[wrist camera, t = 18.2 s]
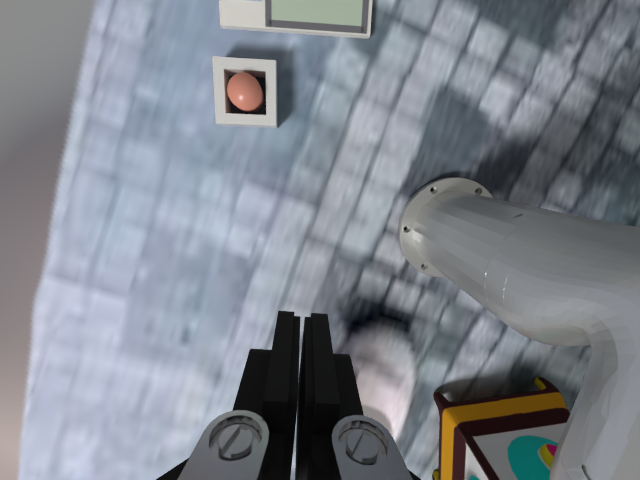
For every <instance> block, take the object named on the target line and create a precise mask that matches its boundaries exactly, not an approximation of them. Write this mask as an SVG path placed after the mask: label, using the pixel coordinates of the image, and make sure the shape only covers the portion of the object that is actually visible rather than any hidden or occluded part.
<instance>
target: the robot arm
mask: <svg viewBox="0 0 640 480" xmlns="http://www.w3.org/2000/svg"><path fill="white" fill-rule="evenodd" d="M431 188H432V189H433V190H432V191H430V190H431ZM475 190H476V192H475ZM405 226H406V229H405V230H403V229H404V227H405ZM398 240H399V245H400V248H401V250H402V253H403V255H404V256H405V258H406V259H407V260H408V262H409V263H410V264H411V265H412V266H413V267H415V268H416V269H417V270H419V271H420V272H422V273H424V274H427V275H429V276H433V277H439V278H443V277H447V278H448V279H450V280H451V281H452V282H453V283H455V284H456V285H457V286H458V287H460V288H461V289H462V290H463V291H465V292H466V293H467V294H469V295H470V296H471V297H472V298H474V299H475V300H476V301H477V302H479V303H480V304H481V305H482V306H484V307H485V308H486V309H487V310H489V311H490V312H491V313H492V314H494V315H495V316H496V317H498V318H499V319H500V320H502V321H503V322H504V323H506V324H507V325H508V326H509V327H511V328H512V329H513V330H515V331H516V332H518V333H520V334H521V335H523V336H525V337H527V338H529V339H532V340H534V341H538V342H541V343H544V344H549V345H557V346H591V357H590V360H589V363H588V366H587V369H586V372H585V375H584V377H583V384H582V386H581V389H580V391H579V394H578V396H577V399H576V401H575V404H574V406H573V409H572V411H571V413H570V416H569V418H568V421H567V423H566V426H565V428H564V431H563V433H562V435H561V438H560V440H559V444H558V446H557V449H556V452H555V455H554V458H553V461H552V465H551V471H550V480H640V227H635V226H629V225H622V224H617V223H611V222H605V221H600V220H595V219H590V218H585V217H580V216H575V215H571V214H565V213H561V212H556V211H551V210H547V209H542V208H537V207H532V206H528V205H523V204H518V203H514V202H509V201H504V200H499V199H495V198H493V196H492V195H491V193H490V192H489V191H488V190H487V189H486V188H485V187H484V186H482V185H480V184H479V183H477V182H475V181H472V180H470V179H466V178H460V177H448V178H442V179H438V180H435V181H433V182H430V183H429V184H427V185H425V186H424V187H422V188H421V189H420V190H418V191H417V192H416V193H415V194H414V195H413V196H412V197H411V199H410V200H409V201H408V202H407V204H406V206H405V208H404V209H403V211H402V214H401V217H400V220H399V226H398ZM422 264H423V265H422ZM421 265H422V266H421ZM299 340H300V317H299V316H294V312H288V311H278V317H277V323H276V328H275V334H274V340H273V346H272V350H262V349H250V352H249V355H248V358H247V362H246V365H245V369H244V372H243V376H242V379H241V383H240V386H239V390H238V393H237V397H236V400H235V404H234V407H233V411H230V412H227V413H225V414H222V415H220V416H218V417H217V418H216V419H214V420H213V421H212V422H211V423H210V424H209V425H208V426H207V428H206V429H205V430H204V432H203V434H202V436H201V438H200V439H199V441H198V443H197V445H196V447H195V448H194V450H193V452H192V454H191V456H190V458H188V459H187V460H185V461H184V462H182V463H180V464H179V465H177V466H176V467H174V468H173V469H171V470H170V471H168V472H167V473H165V474H164V475H162V476H161V477H159V478H158V479H156V480H290V475H291V465H292V455H293V444H294V434H295V424H296V414H297V437H296V470H295V480H421V479H420V478H418V477H417V476H416V475H415V474H413V473H412V472H411V471H409V470H408V469H407V467H406V465H405V462H404V460H403V458H402V456H401V454H400V452H399V450H398V448H397V446H396V443H395V441H394V439H393V437H392V436H391V434H390V433H389V431H388V430H387V429H386V428H385V427H384V426H383V425H382V424H380V423H379V422H378V421H376V420H374V419H372V418H369V417H366V416H364V415H363V411H362V406H361V401H360V397H359V393H358V388H357V384H356V379H355V375H354V371H353V366H352V362H351V358H350V355H349V354H333V350H332V343H331V336H330V329H329V322H328V315H327V314H318V313H311V317H305V322H304V332H303V342H302V353H301V363H300V373H299ZM298 374H299V383H298ZM297 401H298V404H297Z"/></svg>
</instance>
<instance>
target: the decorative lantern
mask: <svg viewBox="0 0 640 480" xmlns="http://www.w3.org/2000/svg"><path fill="white" fill-rule="evenodd" d="M535 384H536V386H537V387H538V389H539V391H532V392H525V393H518V394H511V395H504V396H497V397H490V398H483V399H476V400H469V401H462V402H450V401H448V400H447V399H446V398H445V397H444V396H443V395H442V394H441V393H440V392H438V391H436V392H435V393H434V394H433V396H434V400H435V402H436V405H437V407H438V410H439V415H440V429H439V471H434V472H433V474H432V478H433V480H550V471H551V465H552V461H553V458H554V455H555V452H556V449H557V446H558V444H559V440H560V438H561V435H562V433H563V431H564V428H565V426H566V423H567V421H568V418H569V416H570V413H569V411H568V410H567V407H566V405H565V402H564V400H563V397H562V395H561V393H560V392H559V390H558V389H557V388H556V387H555V386H554V385H553V384H552V383H550V382H549V381H547V380H546V379H544V378H542V377H537V378H536V379H535Z"/></svg>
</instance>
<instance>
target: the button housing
mask: <svg viewBox="0 0 640 480" xmlns="http://www.w3.org/2000/svg"><path fill="white" fill-rule="evenodd" d="M212 59H213V78H214V96H215V115H216V124H218V125H221V126H236V127H260V128H278V123H277V64H276V60H263V59H247V58H231V57H214V56H212ZM237 73H248V74H251V75H252V76H254V77H265V78H266V115H254V114H232V113H231V108H230V98H229V96H228V92H227V87H228V83H229V76H234V75H235V74H237Z"/></svg>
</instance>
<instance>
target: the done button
mask: <svg viewBox="0 0 640 480" xmlns="http://www.w3.org/2000/svg"><path fill="white" fill-rule="evenodd" d="M227 92H228V96H229V98H230V100H231V101H232V103H233V104H234V105H235V106H237V107H238V108H239V109H240V110H242V111H243V112H246V113H253V112H256V111H258V110H259V109H260V108H261V106H262V105H263V102H264V94H263V91H262V89H261V86H260V84H259V82H258V81H257V79H256V78H255V77H254V76H252V75H251V74H248V73H237V74H235V75H234V76H233V77H232V78H231V79H230V80H229V83H228V87H227Z"/></svg>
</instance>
